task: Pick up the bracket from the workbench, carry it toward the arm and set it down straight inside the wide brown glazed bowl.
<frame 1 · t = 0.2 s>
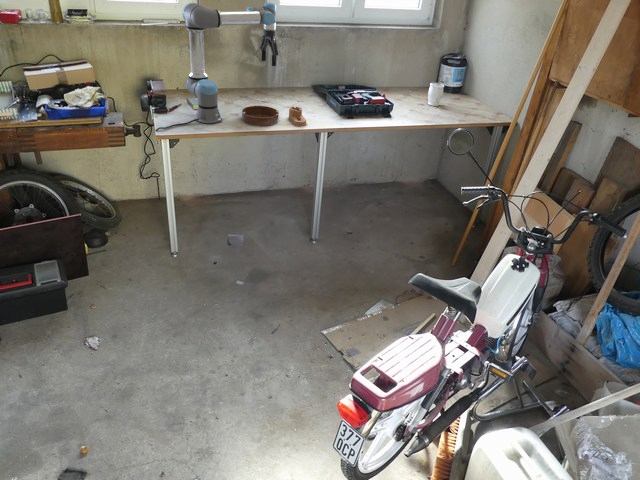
hand: (268, 63, 349), 28 cm above the table, tool pointing down, fingers open, 13 cm apart
bowl: (260, 119, 337), on the table
bracket: (297, 121, 340), on the table
jar: (433, 104, 395), on the table
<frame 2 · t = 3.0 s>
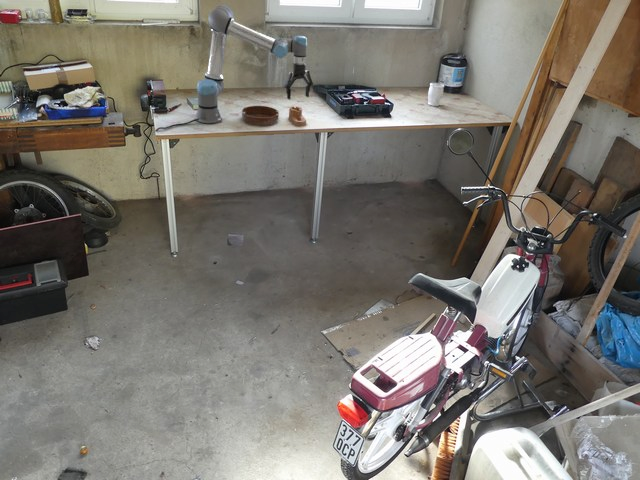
hand: (298, 97, 333), 15 cm above the table, tool pointing down, fingers open, 13 cm apart
nothing on the table moved.
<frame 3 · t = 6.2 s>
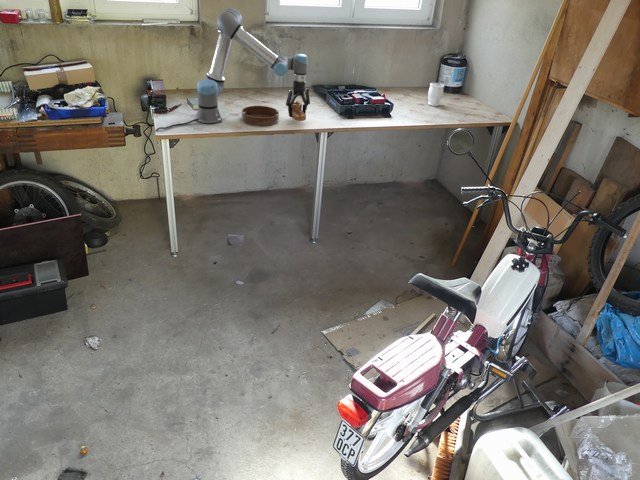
hand: (297, 115, 338), 4 cm above the table, tool pointing down, fingers closed on bracket, 9 cm apart
bracket: (296, 116, 338), point 3 cm above the table, touching gripper
everything else where it was.
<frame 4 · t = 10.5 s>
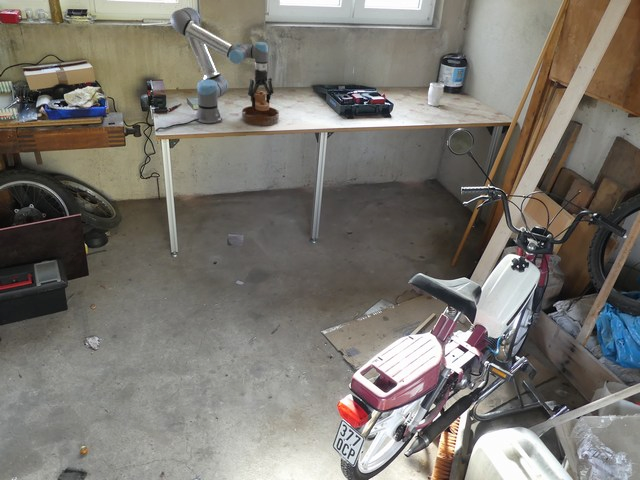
hand: (260, 105, 332), 9 cm above the table, tool pointing down, fingers closed on bracket, 9 cm apart
bracket: (260, 106, 332), point 9 cm above the table, touching gripper
everything else where it was.
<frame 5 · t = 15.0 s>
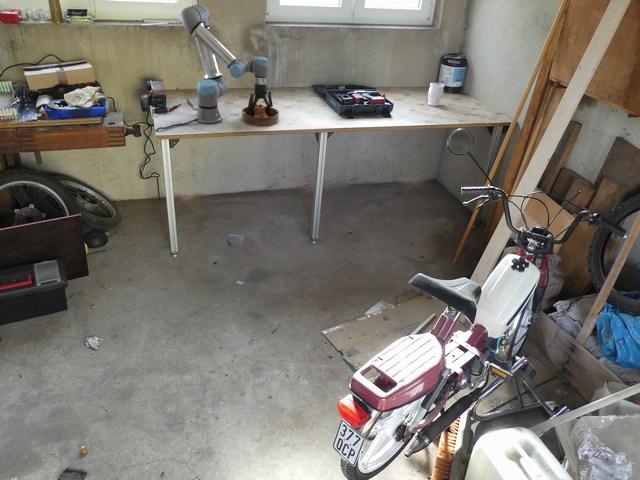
hand: (260, 118, 336), 1 cm above the table, tool pointing down, fingers closed on bracket, 9 cm apart
bracket: (260, 119, 337), resting on bowl, touching gripper
everything else where it was.
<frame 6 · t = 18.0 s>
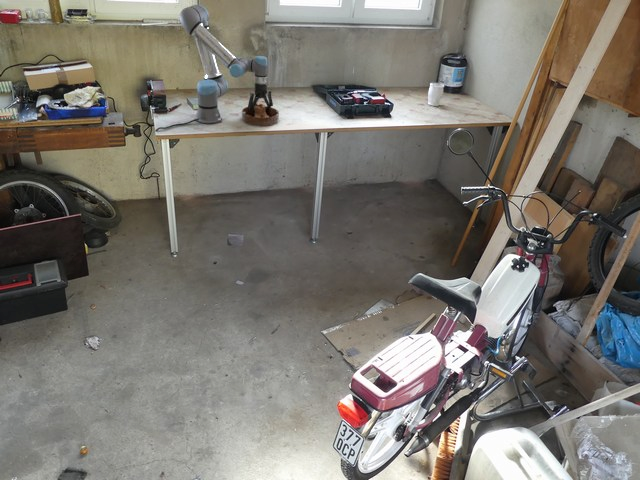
hand: (260, 118, 336), 1 cm above the table, tool pointing down, fingers closed on bracket, 9 cm apart
bracket: (260, 118, 336), point 1 cm above the table, touching gripper
everything else where it was.
when the fingers open (2 cm above the table, at t = 21.0 s): bracket drops 1 cm, resting on bowl.
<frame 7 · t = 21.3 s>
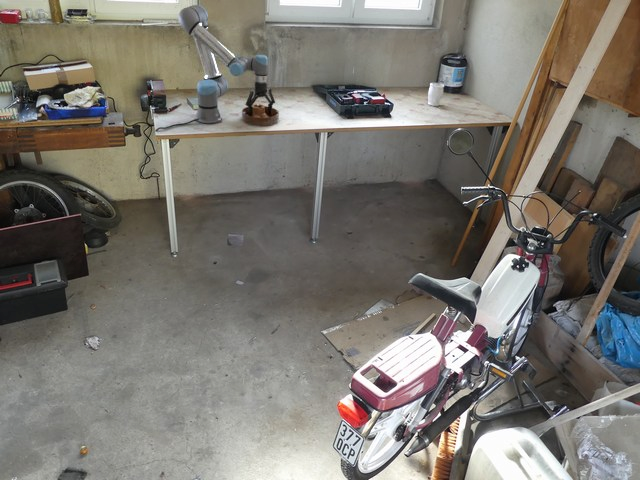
hand: (260, 115, 335), 3 cm above the table, tool pointing down, fingers open, 12 cm apart
bracket: (260, 119, 337), resting on bowl
everything else where it was.
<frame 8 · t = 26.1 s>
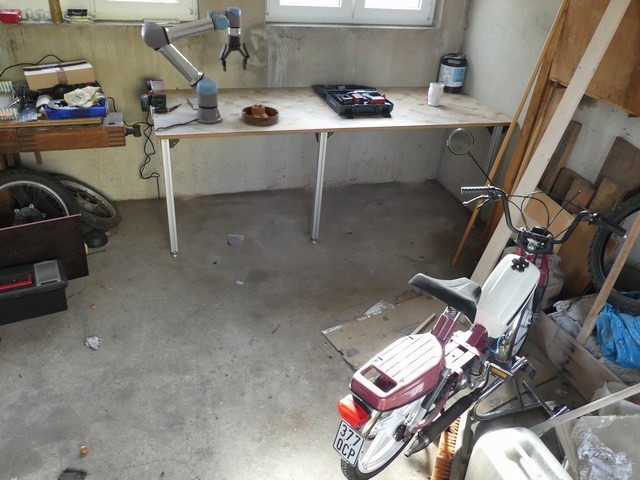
hand: (234, 70, 332), 27 cm above the table, tool pointing down, fingers open, 13 cm apart
nothing on the table moved.
at the end: bracket inside the target area in the bowl (0.1 cm from its centre), point 0.3 cm above the bowl's base; bracket tilted 0°; the gripper is holding nothing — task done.
